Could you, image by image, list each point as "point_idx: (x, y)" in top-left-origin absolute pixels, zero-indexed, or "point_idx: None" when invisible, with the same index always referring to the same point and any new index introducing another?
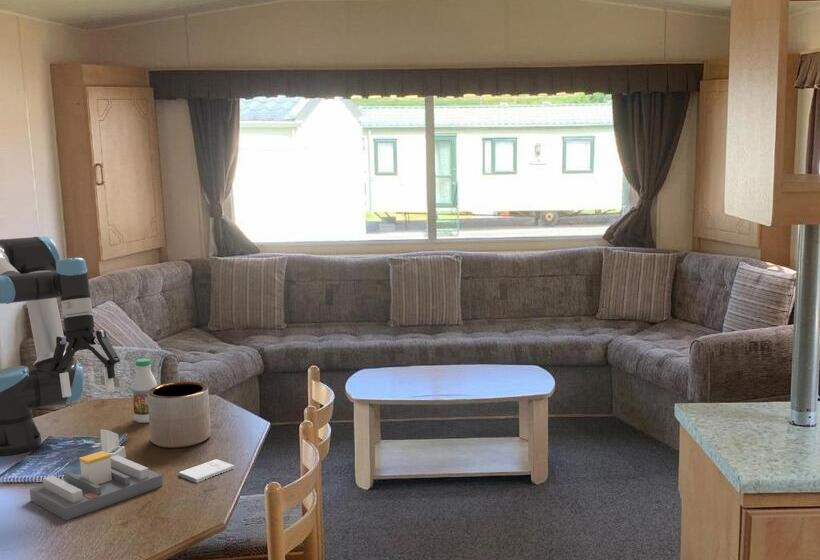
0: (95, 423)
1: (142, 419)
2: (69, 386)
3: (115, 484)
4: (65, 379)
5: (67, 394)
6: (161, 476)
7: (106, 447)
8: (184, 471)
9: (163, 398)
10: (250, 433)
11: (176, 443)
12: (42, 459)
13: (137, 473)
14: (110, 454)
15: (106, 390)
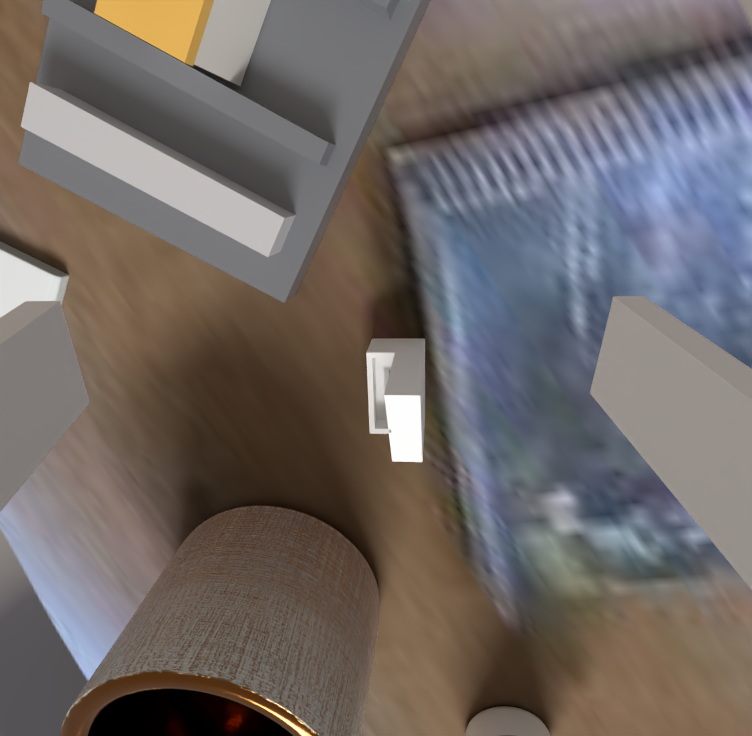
0: (688, 697)
1: (503, 717)
2: (642, 441)
3: None
4: (724, 456)
5: (613, 350)
6: (22, 162)
7: (397, 361)
8: (38, 285)
9: (182, 670)
10: (96, 643)
11: (225, 514)
12: (722, 340)
13: (65, 96)
14: (94, 12)
15: (43, 307)
